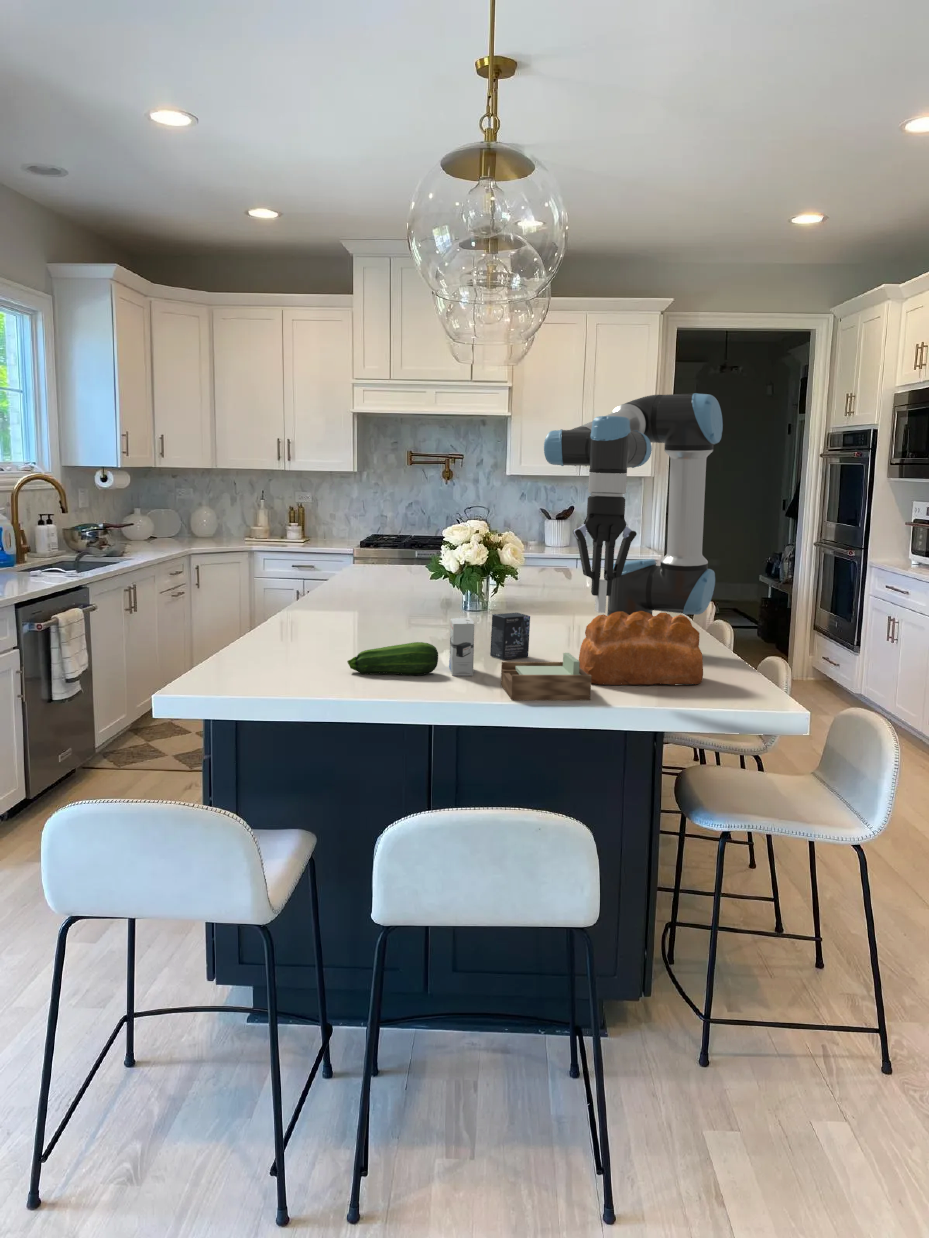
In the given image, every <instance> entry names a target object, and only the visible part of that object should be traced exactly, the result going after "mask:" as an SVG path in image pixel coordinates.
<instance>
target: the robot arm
mask: <svg viewBox="0 0 929 1238" xmlns="http://www.w3.org/2000/svg"><path fill="white" fill-rule="evenodd" d="M723 426H724V424H723V414H722V409H721V406H720V403H719V401H718V400H717V398H716V397H715V396H714V395H712V394H707V393H697V392H695V393H681V394H679V393H678V394H677V393H675V394H672V393H671V394H651V395H645V396H642V397H639V398H636V399H632V400H630V401H627V402H625V403H622V404H620V405H618V406H616V407H615V408H614V409H612V411H611V413H608V414H607V415H600V416H599V415H598V416H596V417H594V418H593V420H592V421H589V422H586V423H585V424H582V425H580V426H578V427H573V428H572V429H557V430H550V431H549V432H548V433H547V434H546V436H545V438H544V443H543V451H544V452H543V453H544V457H545V461H547V463H548V464H550V465H554V466H561V467H564V466H581V467H582V466H584V467H587V466H588V467H589V470H588V471H589V472H588V473H589V474H588V488H587V489H588V490H587V492H588V493H589V494H590V495H588V497H587V506H586V518H585V519H584V522H583V524H582V525H581V526H579V527H578V528H573V530H572V534H573V535H574V537H575V539H576V541H577V547H578V548H577V549H578V553H579V559H580V564H581V570H582V573H583V576H586V577H588V578H590V580H591V589H590V593H591V595H592V596H594V597H595V599H594V601H595V603H594V611H595V612H596V613H603V614H604V613H606V611H607V615H606V616H609V615H610V614H611V613H615V612H625V613H627V614H628V615H631V614H632V613H634V612H638V611H644V612H647V613H650V614H652V615H653V612H654V611H655V612H656V611H658V612H663V613H675V614H681V615H683V616H684V615H685V616H686V615H696V616H697V615H701V614H703V613H704V612H705V611H706V610H707V609H708V607H709V605H710V604H711V601H712V599H713V595H714V590H715V586H716V573H715V570H713V569H711V568H708V567H709V566H708V565H709V561H708V560H707V558H706V557H705V556H704V555H703V541H704V540H703V539H704V538H703V537H704V521H705V520H704V518H705V515H704V514H705V496H706V495H705V493H706V474H707V472H706V471H707V459H708V456H710V455H711V453H713V452H714V445H716V444H718V443H720V441H721V440H722V435H723ZM654 443H655V444H656V443H657V444H664V453H666V454H667V455H668V456H669V458H670V459H669V460H670V463H669V464H670V465H669V466H670V467H669V485H668V486H669V489H668V490H669V491H668V493H669V494H668V515H667V517H668V520H667V544H666V545H667V547H666V555H664V556H663V557H662V558H661V559H660V565H658V564H657V562H656V559H654V558H652V559H650V558H646V559H633V560H632V559H631V560H627V558H628V555H629V551H630V548H631V544H632V542H633V541H634V539H635V538H636V536H637V532H636V531H635V530H632V529H631V528H629V527H628V526H627V522H626V519H625V512H626V498H625V497H624V495H626V493H627V482H628V481H627V480H628V468H630V469H631V468H632V469H635V468H637V467H641V466H643V465H644V464H646V463H647V462H648V460H649V459H650V458H651V456H652V451H653V448H652V444H654ZM587 533H588V534H589V536H590V538H591V539H592V558H591V559H592V560H591V561H590V556H589V555H590V554H589V550H588V545H587V540H586V538H585V537H586V536H587ZM621 534H622V540H621V542H620V545H619V550H618V553H617V556H616V559H615V548H616V543H617V541H616V540H618V539H619V537H620V536H621ZM603 546H605V547H604V549H605V550H604V563H603V565H604V566H603V578H602V579H601V575H602V574H601V573H602V571H601V570H602V555H603V553H602V552H603ZM614 561H615V562H614ZM606 605H607V606H606ZM606 608H607V610H606Z"/></svg>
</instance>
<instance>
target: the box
mask: <svg viewBox="0 0 929 1238" xmlns="http://www.w3.org/2000/svg"><path fill="white" fill-rule="evenodd" d="M530 628H531V616H530V615H528V614H524V613H522V612H521V613H520V612H507V613H492V615H491V631H490V634H491V635H490V652H489V654H490V657H493V658H495V659H499V660H502V661H505V660H512V659H513V660H514V659H524V658H525V659H526V658H527V659H528V658H529V649H530V646H529V645H530V631H531V630H530Z"/></svg>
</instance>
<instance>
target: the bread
mask: <svg viewBox="0 0 929 1238" xmlns="http://www.w3.org/2000/svg"><path fill="white" fill-rule="evenodd" d="M584 634H585V637H584V639H582V642H581V644H580V649H579V654H578V661H579V662H580V663H579V667H580V668H581V669H582V670H583V671H584V672H586V673H587V674H588V675H591V684H593V685H598V686H599V685H600V686H602V685H607V686H609V685H610V686H611V685H612V686H616V685H617V686H618V685H619V686H621V685H623V686H625V685H626V686H627V685H628V686H630V685H632V686H634V685H639V686H642V685H643V686H647V685H648V686H653V684H655V685H662V684H670V685H669V686H676V685H675V684H695V685H699V683H700V684H701V683H703V677H704V664H703V663H704V662H703V661H704V660H703V653H702V651H701V648H700V632H699V631H698V630H697V629H696V628H695V627H694V626H693V625H692V621H691V620H690V619H689V618H688V617H686V615H685V616H684V614H679V615H676V616H672V615H671V614H670V613H668V612H659V613H657V614H656V615H653V613H652V614H650V613H647V612H644V611H638V612H634V613H632V614H631V615H628V614H627V613H625V612H615V613H611V614H610V615H609V616H607V615H606V614H599V615H597V616H595V617H594V618H592V620H591V622H590V623H587V625H586V626H585V631H584Z"/></svg>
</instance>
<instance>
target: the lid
mask: <svg viewBox="0 0 929 1238" xmlns="http://www.w3.org/2000/svg"><path fill="white" fill-rule="evenodd" d="M562 654H563V656H562V662H563V666H515V670H516V671H517V672H518V673H519V675H581V674H580V673H579V663H580V662H579V659H577V658H576V657H574V655H572V654H571V653H570V652H563V653H562Z"/></svg>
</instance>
